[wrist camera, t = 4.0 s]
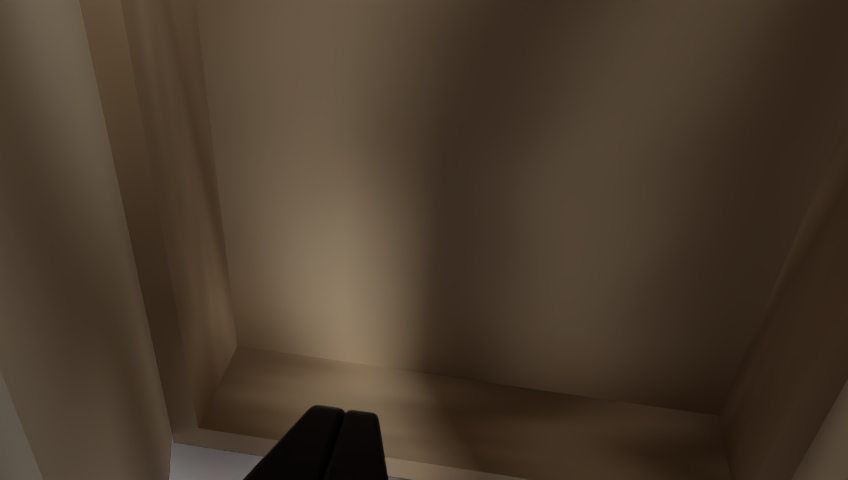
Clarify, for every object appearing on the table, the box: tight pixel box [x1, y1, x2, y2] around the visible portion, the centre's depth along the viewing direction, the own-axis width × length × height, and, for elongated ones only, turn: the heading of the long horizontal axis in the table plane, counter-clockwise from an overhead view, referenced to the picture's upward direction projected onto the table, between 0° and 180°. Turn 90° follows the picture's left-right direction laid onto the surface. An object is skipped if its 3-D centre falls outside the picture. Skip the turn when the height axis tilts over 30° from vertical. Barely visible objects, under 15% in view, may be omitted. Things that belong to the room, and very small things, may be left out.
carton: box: [79, 0, 848, 480], centre depth 16 cm, size 16×20×4 cm
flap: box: [0, 0, 172, 480], centre depth 12 cm, size 8×19×1 cm
